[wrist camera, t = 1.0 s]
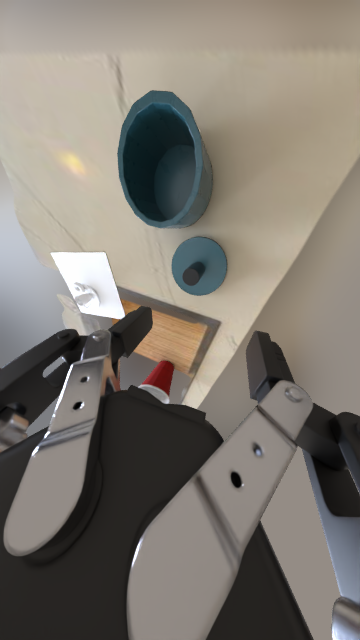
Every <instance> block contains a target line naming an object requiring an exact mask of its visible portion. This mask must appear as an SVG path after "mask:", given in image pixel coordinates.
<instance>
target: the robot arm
mask: <svg viewBox="0 0 360 640" xmlns="http://www.w3.org/2000/svg"><path fill="white" fill-rule="evenodd" d="M152 325H153V321H152V310H151V308H149V307H145V306H141V307H139V308H138V309H137V310H134V311H132V312H130V313H128V314H127V315H126V316H125V317H123V318H122V319H121V320H119V321H118V322H117V323H116V324H114V325H113V326H112V327H111V328H109V329H108V330H98V331H95V332H93V333H92V334H90V335H89V336H79V334H78V332H77V331H76V330H75V329H66V330H62V331H60V332H57V333H56V334H54V335H53V336H51V337H50V338H48V339H46V340H45V341H43V342H42V343H40V344H38V345H37V346H35V347H33V348H32V349H31V350H29V351H27V352H25V353H24V354H22V355H21V356H19V357H17V358H16V359H14V360H13V361H11V362H10V363H8V364H6V365H5V366H3V367H2V368H0V640H313V637H312V635H311V633H310V631H309V628H308V626H307V624H306V622H305V619H304V617H303V615H302V613H301V610H300V608H299V606H298V604H297V602H296V599H295V597H294V595H293V593H292V590H291V588H290V586H289V584H288V581H287V579H286V577H285V575H284V572H283V570H282V568H281V566H280V564H279V561H278V560H277V557H276V555H275V552H274V550H273V548H272V546H271V544H270V542H269V539H268V537H267V535H266V532H265V530H264V528H263V526H262V523H261V521H260V519H261V517H262V515H263V513H264V511H265V509H266V508H267V506H268V504H269V502H270V500H271V498H272V496H273V494H274V492H275V490H276V488H277V486H278V484H279V483H280V481H281V479H282V477H283V475H284V473H285V471H286V469H287V467H288V465H289V463H290V461H291V460H292V457H293V455H294V454H295V452H296V449H297V445H298V446H299V447H301V448H302V451H303V455H304V458H305V462H306V466H307V470H308V473H309V477H310V481H311V485H312V489H313V492H314V496H315V500H316V504H317V508H318V511H319V515H320V518H321V523H322V526H323V530H324V534H325V538H326V542H327V545H328V549H329V553H330V556H331V560H332V564H333V568H334V572H335V575H336V579H337V583H338V587H339V591H340V594H341V597H340V598H338V599H336V601H335V603H334V605H333V610H332V625H331V629H332V636H333V640H360V494H359V493H360V416H358V415H355V414H353V413H349V412H342V413H340V414H338V415H335V414H333V413H331V412H329V411H328V410H326V409H324V408H322V407H320V406H318V405H316V404H315V403H313V402H312V400H311V398H310V396H309V395H308V394H307V392H305V391H304V390H303V389H302V388H301V387H300V386H298V385H297V384H295V382H294V380H293V377H292V375H291V372H290V370H289V367H288V365H287V362H286V360H285V357H284V355H283V352H282V350H281V348H280V347H279V346H278V345H277V344H276V343H275V342H271V340H270V336H269V334H268V333H265V332H260V331H255V332H254V333H253V335H252V338H251V340H250V342H249V344H248V346H247V349H246V359H247V369H248V379H249V389H250V398H251V399H254V400H257V401H258V405H257V406H256V407H255V408H254V409H253V410H252V412H250V414H249V415H248V416H247V417H246V418H245V419H244V420H243V421H242V422H241V423H240V425H239V426H238V427H237V428H236V429H235V430H234V431H233V432H232V433H231V435H230V436H229V437H228V438H227V439H226V440H225V441H224V440H223V438H222V437H221V435H220V434H219V433H218V431H217V430H216V429H215V428H214V427H213V426H212V425H211V424H210V423H209V422H208V421H206V420H205V416H206V413H205V412H202V411H199V410H197V409H194V408H192V407H189V406H186V405H176V404H165V403H163V402H161V401H160V400H159V399H157V398H156V397H155V396H153V395H152V394H151V393H150V392H148V391H146V390H144V389H141V388H138V387H135V386H133V385H131V386H130V387H129V389H128V390H121V389H120V357H121V356H124V357H127V358H128V357H129V356H130V354H131V353H132V352H133V351H134V350H135V348H136V347H137V346H138V345H139V343H140V342H141V341H142V340H143V339H144V337H145V336H146V335H147V334H148V332H149V331H150V330H151V328H152ZM60 356H62V358H63V359H64V361H65V362H64V363H62V364H61V365H60V366H59V367H58V368H57V369H55V370H54V371H53V372H52V373H50V374H49V375H48V376H47V377H46V378H44V377H43V371H44V370H45V369H46V367H48V366H49V365H50V364H52V363H53V362H54V361H55V360H57V359H58V358H59V357H60ZM60 394H61V395H60ZM59 395H60V398H59V400H58V403H57V406H56V409H55V411H54V414H53V417H52V420H51V422H50V425H49V426H48V427H46V428H44V429H42V430H40V431H39V432H37V433H35V434H33V435H31V436H29V437H28V438H27V433H25V432H26V430H27V428H28V427H29V426H30V425H31V424H32V423H33V422H34V421H35V419H37V418H38V417H39V415H40V414H41V413H42V412H43V411H44V410H45V409H46V408H47V407H48V406H49V405H50V404H51V403H52V402H53V401H54V400H55V399H56V398H57V397H58V396H59ZM349 470H350V472H351V474H352V476H351V474H350V472H349ZM352 477H353V478H352ZM353 479H354V481H355V483H354V481H353ZM355 484H356V485H355ZM356 486H357V488H358V490H359V492H358V490H357V488H356Z"/></svg>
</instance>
